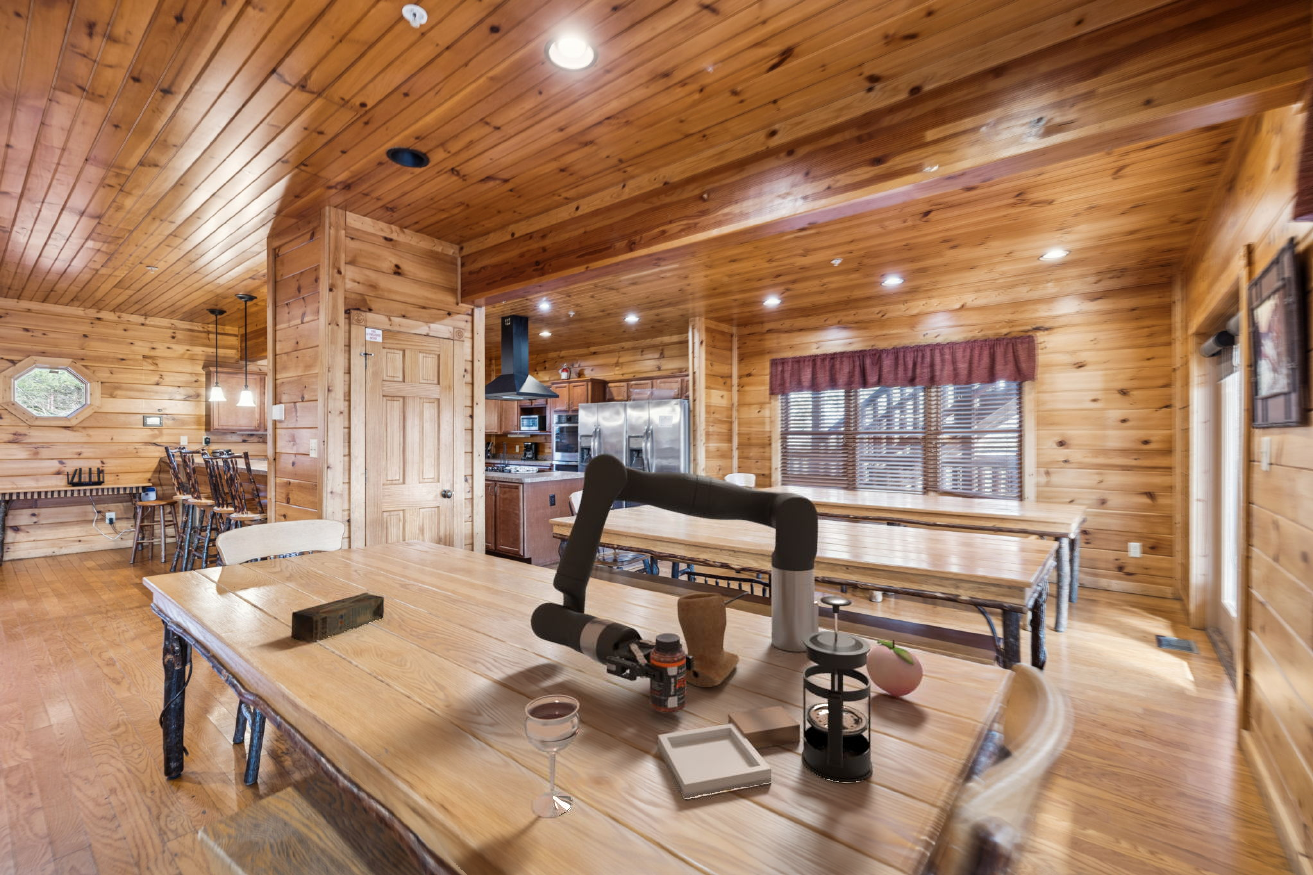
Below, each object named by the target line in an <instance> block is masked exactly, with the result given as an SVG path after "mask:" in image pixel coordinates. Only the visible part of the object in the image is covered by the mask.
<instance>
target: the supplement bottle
mask: <svg viewBox="0 0 1313 875" xmlns="http://www.w3.org/2000/svg"><path fill="white" fill-rule="evenodd" d="M655 642H656V643H655V645H656V647H655V648H653V649H652V651H651V653H650V663H653V664H655V665H658V666H660V667H663V668H665V669H666V671H667V681H666V682H665V683H663V684H662V683H659V682H657V681H654V680H652V679H649V699H650V701H649V702H650V706H651V708H652V709H654V710H655V711H657V712H659V713H667V714H673V713H677V712H679V711H682V710H683V709H684V708H685V707H686V704H687V681H686V654H687V653H686V652H685V650H684V649H683V647H682V648H681V647H680V644H681V636H679V635H678V634H676V633H671V632H664V633H659V634H657V635H656V636H655Z"/></svg>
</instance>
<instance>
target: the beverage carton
mask: <svg viewBox="0 0 1313 875" xmlns="http://www.w3.org/2000/svg"><path fill="white" fill-rule="evenodd" d="M384 603H385V597H384V596H382V595H375V594H371V593H369V592H363V593H359V594H355V595H354V596H349V597H345V598H344V597H343V598H341V599H338V600H334V601H330V602H326V603H323V604H319V605H314V606H311V607H306V608H303V609H299V610H297V611H293V612H291V638H292V639H294V638H295V639H294V640H298V641H302V640H303V641H302V642H305V641H306V642H305V643H309V642H313V643H316V642H318V641H317V640H320V641H322V640H324V639H323V638H325V639H327V638H326V637H328V636H331V637H333V636H332V635H334V636H337V635H339V634H338V633H340V634H343V633H345V632H344V631H346V632H348V631H347V630H349V629H352V630H354V629H353V628H355V629H357V627H358V626H361V627H363V626H362V625H364V624H367V625H369V624H368V623H369V622H373V621H375V620H378V621H380V620H379V619H381V620H383V619H384V613H385V605H384ZM382 618H383V619H382ZM375 622H376V621H375ZM373 623H374V622H373ZM364 626H365V625H364ZM358 628H359V627H358ZM349 631H350V630H349ZM342 632H343V633H342ZM336 634H337V635H336ZM328 638H329V637H328ZM321 639H322V640H321ZM315 641H316V642H315Z"/></svg>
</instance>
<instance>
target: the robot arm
mask: <svg viewBox="0 0 1313 875" xmlns="http://www.w3.org/2000/svg"><path fill="white" fill-rule="evenodd" d="M583 473H584V475H583V476H584V477H583V479H584V481H583V485H582V486H583V487H582V492H581V497H580V502H579V506H578V509H577V513H576V515H575V519H574V522H573V525H572V528H571V531H570V533H569V536H568V539H567V541H566V543H565V545H564V548H563V550H562V551H563V552H562V554H561V556H560V559H559V562H558V565H557V569H556V571H555V574H554V577H553V582H552V586H553V588H554V589H555V590H556V591H558V592H560V593H561V594H562V595H563V599H562V600H563V601H562V602H563V603H562V604H558V603H556V602H555V603H554V602H544V603H541V604H539V605H538V606H537V607H535V609H534V610H533V612H532V615H531V617H530V627H531V630H532V632H533V634H534V635H535V636H536V637H537V638H538V639H541V640H544V641H546V642H550V643H553V644H557V645H560V646H564V647H567V648H570V649H571V650H573V651H575V652H577V653H579V654H582V655H584V656H586V657H588V658H590V659H591V660H592V661H594V662H596V663H600V664H602V665H604V666H605V667H606V673H607V674H609V675H613V676H616V677H619V678H622V679H624V680H628V681H631V682H634V681H635V682H636V681H637V679H638V678H640V679H649V680H650V679H652V680H654V681H657V682H659V683H662V684H663V683H665V682H666V681H667V671H666V669H665V668H663V667H660V666H658V665H655V664H653V663H650V653H651V651H652V649H653V648H655V647H656V645H655V643H656V641H652V640H649V639H644V638H642V636H641V634H640V633H639V631H638V630H637V629H635V628H634V627H631V626H627V625H625V624H622V623H620V622H616V621H614V620H610V619H606V618H600V617H597V616H594V615H592V614H589V613H585V607H586V598H587V597H586V596H587V595H586V594H587V592H586V591H587V587H588V584H589V582H590V577H591V576H592V573H593V569H594V566H595V562H596V559H597V555H598V551H599V547H600V543H601V540H602V536H603V532H604V528H605V524H606V522H607V518H608V516H609V515H610V511H611V509H612V508H613V507H612V506H613V504H614V503H615V502H616V501H617V502H626V503H636V504H637V503H638V504H642V505H647V506H651V507H655V508H658V509H662V510H665V511H669V512H673V513H676V514H681V515H685V516H690V517H696V518H701V519H707V520H717V521H720V520H721V521H746V522H751V523H754V524H759V525H763V526H766V527H768V528H772V529H774V530H775V534H774V535H775V536H774V537H775V539H774V541H775V542H774V550H773V552H772V553H771V555H770V556H771V562H770V563H771V575H770V576H771V644H772V646H774V647H776V648H777V649H780V650H783V651H788V652H794V653H795V652H796V653H797V652H798V653H799V652H802V653H803V652H806V646H805V645H804V643H803V638H804V636H806V635H807V634H810V633H814V632H819V602H817V601H815V560H816V557H817V555H818V542H819V540H818V538H819V516H818V511H817V508H816V506H815V504H814V503H813V502H812V501H811V499H809V498H808V497H805V496H803V495H800V494H798V493H794V492H781V491H770V490H769V491H768V490H762V489H761V490H759V489H754V488H753V489H752V488H748V487H744V486H742V485H738V484H736V483H733V482H731V481H726V480H723V479H720V478H714V477H711V476H707V475H702V474H696V473H689V472H688V473H687V472H651V471H645V470H640V469H637V468H632V467H630V466H626V465H625V464H624V462H623V460H621V459H620V457H618V456H617V455H614V454H611V453H601V454H599V455H596V456H595V457H593V458H592V459H591V460H590V461H589V462H588V463H587V465H586V466H585V469H584V472H583ZM680 647H681V648H682V649H683V644H682V643H680ZM685 654H686V669H687V670H692V669H693V668H694V658H693V657H692V656H690V655H688V653H685Z"/></svg>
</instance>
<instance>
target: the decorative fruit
mask: <svg viewBox="0 0 1313 875" xmlns="http://www.w3.org/2000/svg"><path fill="white" fill-rule="evenodd" d="M876 644H878V645H876V646H875V647H874V648H872V649H870V651H869V652H868V653H867V663H866V665H865V666H866V671H867V674H868V676H869V679H870V681H872V683H873V684H874V685H876V686H877V687H878V689H881V690H882V691H884V692H886V693H887V694H889V695H890V696H891V697H893V698H900V697H904V696H907V695H909V694H911V693H913V692H914V691H915V690H916V689H917V688H918V687H919V686H920V684H921V682H922V680H923V674H924V673H923V672H924V670H923V667H922V664H921V662H920V660H919V658H918V657H917V656H916V655H915V654H913V653H912V652H911V651H909V650H908V649H905V648H901V647H899V646H897V645H896V644H895V639H892V641H890V640H887V639H885V640H883V639H879V640H878V641H876Z"/></svg>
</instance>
